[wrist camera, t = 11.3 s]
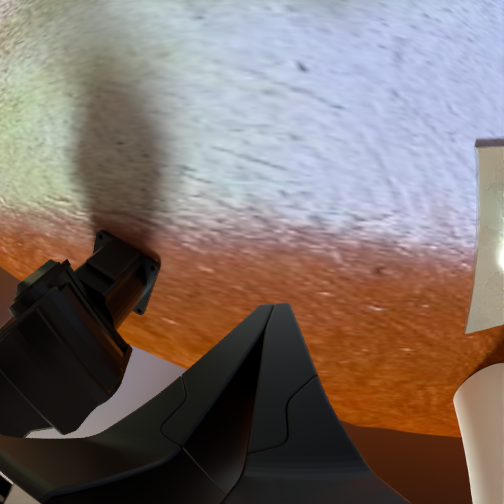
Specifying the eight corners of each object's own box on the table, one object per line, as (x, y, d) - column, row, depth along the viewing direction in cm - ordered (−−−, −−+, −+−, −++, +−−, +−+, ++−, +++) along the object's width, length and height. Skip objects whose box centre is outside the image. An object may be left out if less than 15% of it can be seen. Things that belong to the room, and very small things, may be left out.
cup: (489, 406, 26) (513, 510, 12) (441, 409, 27) (458, 528, 13) (523, 362, 22) (565, 474, 8) (475, 363, 24) (513, 498, 10)
